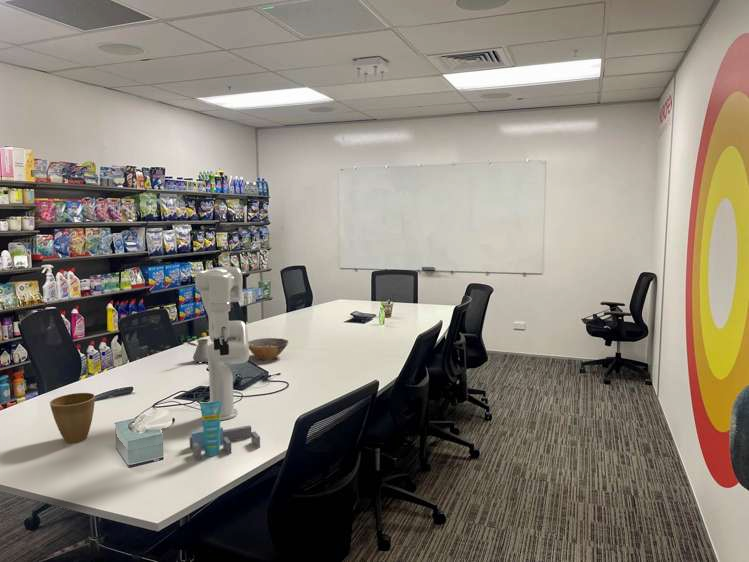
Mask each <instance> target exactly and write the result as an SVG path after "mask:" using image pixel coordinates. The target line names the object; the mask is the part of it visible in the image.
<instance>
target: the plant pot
mask: <svg viewBox="0 0 749 562" xmlns="http://www.w3.org/2000/svg"><path fill="white" fill-rule="evenodd" d="M95 399H96V395H95V394H94V393H91V392H76V393H69V394H65V395H61V396H58V397H55V398H53V399H51V400H50V402H49V406H50V409H51V412H52V417H53V419H54V422H55V424H56V426H57V430H58V432H59V433H60V436H61V437H62V439H63V441H64V442H65V443H67V444H76V443H81V442H83V441H85V440H87V439H88V436H89V432H90V429H91V425H92V421H93V417H94V416H93V415H94V410H95V401H96V400H95Z"/></svg>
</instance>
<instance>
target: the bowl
mask: <svg viewBox="0 0 749 562" xmlns="http://www.w3.org/2000/svg"><path fill="white" fill-rule="evenodd" d="M248 344H249V352H251V353H252V354H253V356H254V357H255V358H257V359H259V360H263V361H265V360H266V361H269V360H275V358H278V356H279V355H281V353H282V352H283V351H284V350H285V349H286V347H287V346H288V344H289V340H287V339H284V338H277V337H266V338H265V337H263V338H256V339H252V340H248Z"/></svg>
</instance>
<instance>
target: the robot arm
mask: <svg viewBox="0 0 749 562" xmlns="http://www.w3.org/2000/svg"><path fill="white" fill-rule="evenodd" d="M194 280H195V281H194V283H195V288H196V290H197V292H200V293H201V300H202V304H203V307H204V310H205V311H206V314H207V316H208V334H209V339H210V341H211V342H212V343H210V344H208V347H207V349H206V356H207V361H208V363H207V365H208V366H207V367H208V376H209V379H208V380H209V402H214V401H221V400H222V406H221V420H220V421H224V420H229V419H232V418H233V419H234V418H235V417H236V416H238V409H236V408H235V407H234V378H233V372H232V371H231V369H230V368H229V367H228V365H237V364H245V363H247V362H248V361H249V357H250V350H249V344H248V341H249V337H248V328H247V324H246V323H245V322H244V321H243V320H229V312H230V311H231V303H237V302H240V301H241V300H242V298H243V284H244V283H243V281H244V279H243V273H242V271H241V269H240V268H239V267H238V266H237V267H236V266H221V267H219V266H218V267H213V268H211V269H208V270H202V271H201V270H200V271H198V272H197V273H196V275H195V278H194Z"/></svg>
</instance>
